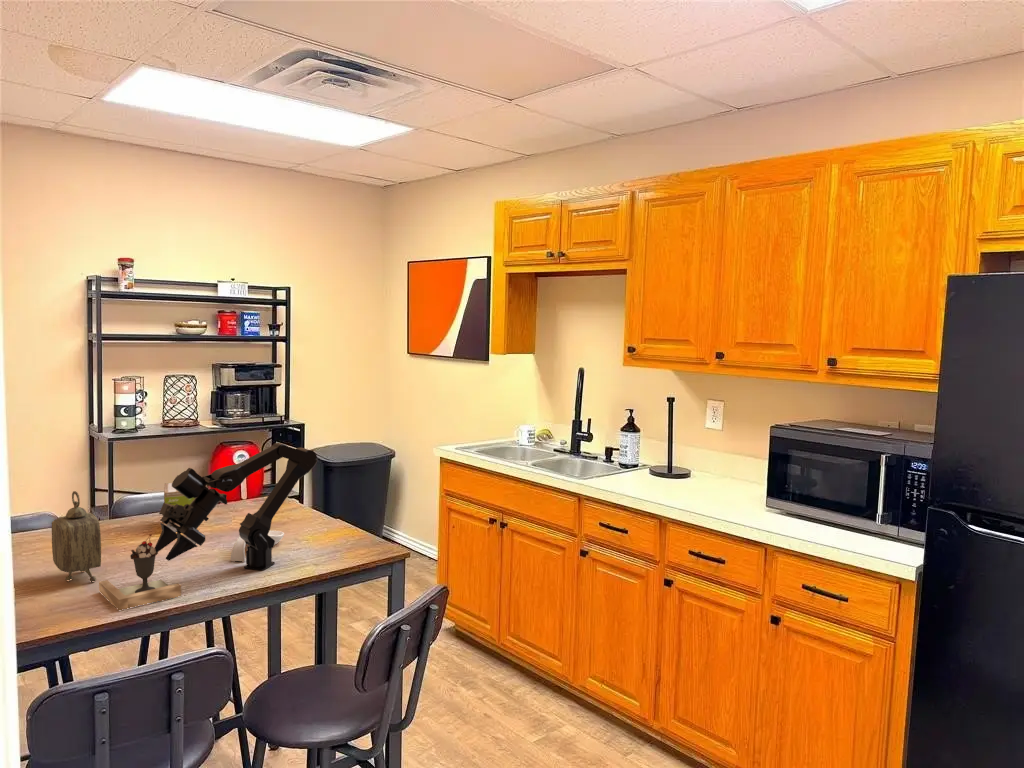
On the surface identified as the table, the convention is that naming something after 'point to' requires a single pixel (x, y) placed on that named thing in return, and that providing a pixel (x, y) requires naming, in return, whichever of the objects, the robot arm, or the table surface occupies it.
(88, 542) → the tabletop clock
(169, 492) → the tea box
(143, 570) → the sundae
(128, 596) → the corner tray
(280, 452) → the robot arm
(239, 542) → the spoon rest
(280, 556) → the table surface
